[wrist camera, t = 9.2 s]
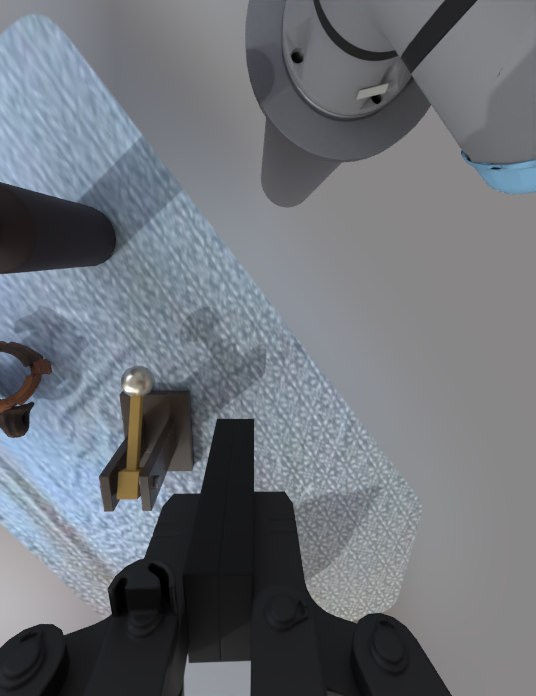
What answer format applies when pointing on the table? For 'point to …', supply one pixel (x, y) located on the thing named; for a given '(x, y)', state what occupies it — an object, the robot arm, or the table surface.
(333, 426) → the table surface
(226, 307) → the table surface
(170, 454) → the dark grey lever stand
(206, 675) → the milk
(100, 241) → the bottle
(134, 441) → the tap lever
